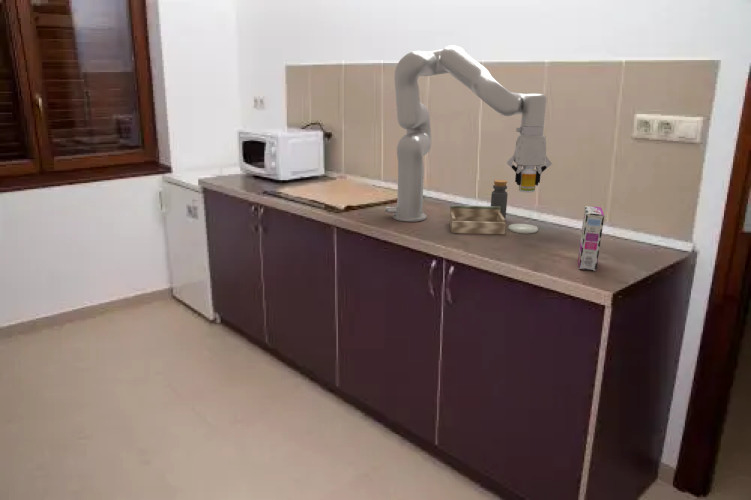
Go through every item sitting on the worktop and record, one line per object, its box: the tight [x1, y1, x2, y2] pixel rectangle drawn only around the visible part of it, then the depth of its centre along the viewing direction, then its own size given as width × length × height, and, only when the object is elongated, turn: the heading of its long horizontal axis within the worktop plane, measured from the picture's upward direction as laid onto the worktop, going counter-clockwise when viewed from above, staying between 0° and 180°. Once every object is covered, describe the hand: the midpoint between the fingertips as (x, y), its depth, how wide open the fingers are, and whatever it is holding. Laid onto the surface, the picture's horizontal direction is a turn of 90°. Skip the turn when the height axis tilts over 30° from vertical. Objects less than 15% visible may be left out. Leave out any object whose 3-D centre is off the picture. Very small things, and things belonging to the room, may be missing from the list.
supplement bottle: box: [518, 166, 537, 193], centre depth 201 cm, size 5×5×10 cm
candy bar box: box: [577, 205, 605, 272], centre depth 167 cm, size 11×5×16 cm, turn 163°
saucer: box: [508, 223, 539, 235], centre depth 206 cm, size 10×10×1 cm
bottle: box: [490, 179, 508, 220], centre depth 217 cm, size 6×6×15 cm
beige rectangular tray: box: [448, 204, 506, 235], centre depth 206 cm, size 18×13×7 cm
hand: (527, 184), depth 201 cm, fingers closed on supplement bottle, 5 cm apart
